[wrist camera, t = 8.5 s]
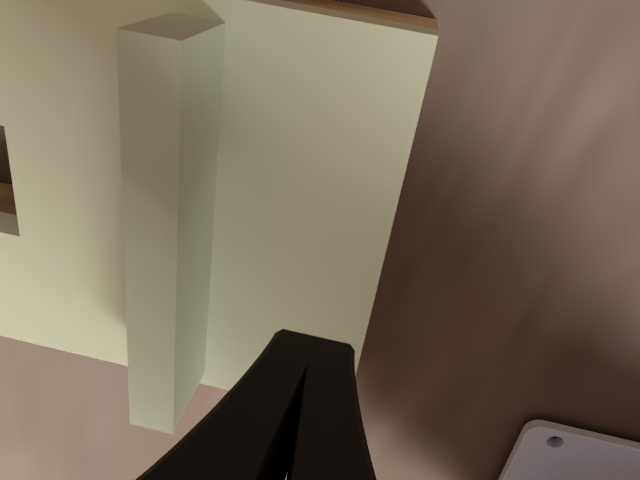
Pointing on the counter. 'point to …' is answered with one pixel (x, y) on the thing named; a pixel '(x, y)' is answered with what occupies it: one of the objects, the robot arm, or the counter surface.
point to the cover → (199, 180)
